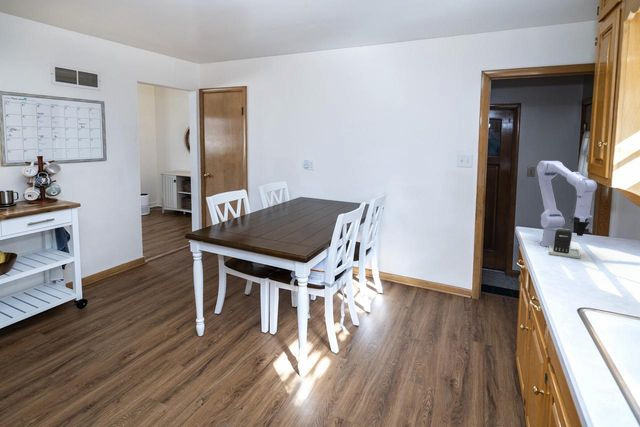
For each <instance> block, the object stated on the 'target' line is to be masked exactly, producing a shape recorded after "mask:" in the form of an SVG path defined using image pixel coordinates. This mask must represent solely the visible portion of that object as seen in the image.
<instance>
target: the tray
mask: <svg viewBox="0 0 640 427" xmlns="http://www.w3.org/2000/svg"><path fill="white" fill-rule="evenodd" d="M553 247H554V246H549V247H548V255H549V256H555V257H560V258H561V257H563V258H569V259H576V260H581V254H580V250H579V249H578V248H571V247H570V249H569V253H561V252H555V251H553Z"/></svg>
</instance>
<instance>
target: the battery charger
mask: <svg viewBox="0 0 640 427" xmlns="http://www.w3.org/2000/svg"><path fill="white" fill-rule="evenodd" d="M572 236H573V232H572V230H571V229H570V228H569V229H567V228H561V229H560V228H559V229H557V230H556V232H555V238H554V247H553V251H555V252H561V253H569V249H570V248H571V243H572Z"/></svg>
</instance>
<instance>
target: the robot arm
mask: <svg viewBox="0 0 640 427" xmlns="http://www.w3.org/2000/svg"><path fill="white" fill-rule="evenodd" d="M536 172H537V177H538V183H539V188H540V193H541V198H542V202H543V208H544V211H543V212H542V213H541V214H540V225H541V227H542V228H543V232H542V238H541V239H542V240H541V241H540V246H541V247H548V248H549V246H554V238H555V232H556V230H557V229H559V228H560V229H563V227H564V226H565V224H566V221H565V217H564V216H563V213H562V212H561V211H560V210H559V209H557V204H556V199H555V194H554V190H553V185H552V179H554V178H555V177H556V176H557V175H558V174H559V175H561V176H562V177H564V178H566V181H567V183H569V184H570V185H572V186H573V187H574V188H575V190H576V196H577V197H576V204H575V211H574V217H573V219H574V223H575V232H576V236H577V237H583V236H584V233H585V230H586V229H587V227H588V225H589V224H590V222H589V221H588V220H589V218H590V219H591V218H593V215H591V214H590V212H591V207H592V201H593V194H594V192H596V190H597V188H598V183H597V182H596V180H594V179H588V178H587V177H586V176H583V175H582V174H581V172H580V171H573V172H572V171H571V170H570V169H569V168H567V167H566V166H565V165H564V164H563V162H561V161H559V160H541V161H539V162H538V164H537V166H536Z"/></svg>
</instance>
